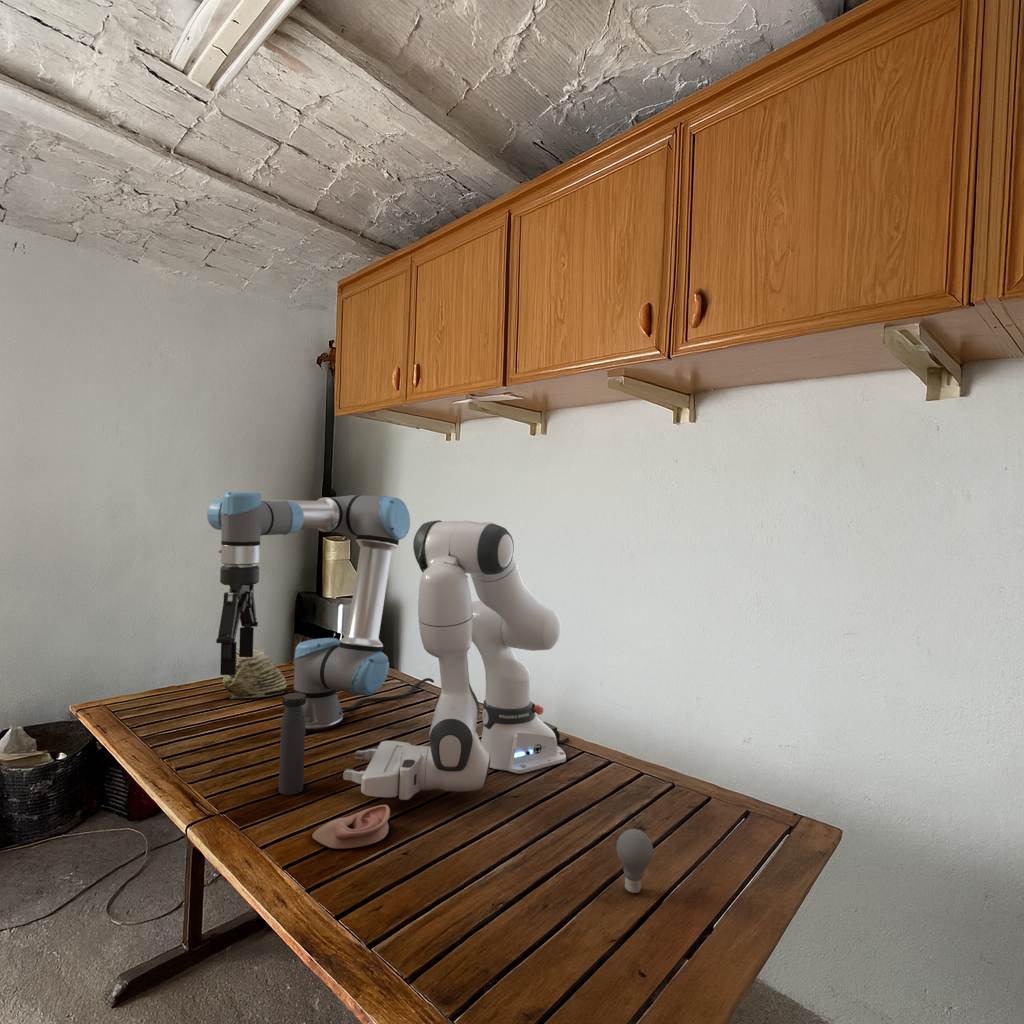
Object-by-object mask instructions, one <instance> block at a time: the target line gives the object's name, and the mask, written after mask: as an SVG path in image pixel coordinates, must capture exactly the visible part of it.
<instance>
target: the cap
mask: <svg viewBox="0 0 1024 1024" xmlns="http://www.w3.org/2000/svg"><path fill="white" fill-rule="evenodd" d="M305 696H306V695H305V694H302V693H294V692H291V693H286V694H284V695H283V696H282V706H283V707H286V706H287V707H298V706H302V705H304V704H305V703H306V697H305Z"/></svg>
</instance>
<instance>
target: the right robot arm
mask: <svg viewBox="0 0 1024 1024" xmlns="http://www.w3.org/2000/svg"><path fill="white" fill-rule="evenodd" d="M514 544H515V543H514V539H513V536H512V535H511V533H510V532H509V531H508V530H507V528H505V527H503V526H501V525H499V524H497V523H494V522H491V521H483V522H479V521H472V520H445V521H443V520H432V521H427V522H424V523H422V524H421V525H420V526H419V528H418V530H417V531H416V533H415V535H414V537H413V543H412V547H413V548H412V549H413V554H414V557H415V560H416V563H417V564H418V566H419V569H420V571H421V572H422V573H421V576H420V580H419V585H418V599H417V600H418V601H417V602H418V603H417V613H418V614H417V615H418V617H417V618H418V627H419V628H418V629H419V635H420V638H421V642H422V646H423V649H424V651H426V653H427V654H429V655H431V656H432V657H433V658H434V657H435V658H437V659H438V663H439V676H440V686H441V687H440V691H439V693H438V696H437V699H436V701H435V704H434V705H435V706H434V712H433V717H432V720H431V724H430V728H429V733H428V740H429V745H412V744H411V743H409V742H405V741H397V740H383V741H380V743H379V745H378V747H377V748H370V749H365V750H356V752H355V753H354V761H355V762H363V761H366V760H367V761H368V760H370V761H369V763H368V765H367V767H366V769H365V770H360V771H357V770H355V769H354V768H345V769H344V771H343V773H342V779H343V780H344V781H351V782H354V783H356V784H358V785H360V792H361V794H363V795H364V796H367V797H374V798H388V799H389V798H396V797H398V800H400V801H409V800H410V799H411V798H412V797H414V795H415V794H417V793H418V792H420V791H431V790H441V791H444V792H453V793H454V792H455V793H459V792H464V793H465V792H474V791H478V790H480V789H483V788H484V786H485V785H486V784H487V780H488V778H489V773H490V769H494V770H499V771H507V772H510V773H514V774H518V775H519V774H520V775H521V774H522V775H523V774H526V773H529V772H532V771H537V770H541V769H544V768H548V767H551V766H555V765H559V764H563V763H566V761H567V755H566V752H565V751H564V750H563V748H561V747H560V746H558V744H559V745H564V744H565V743H566V742H569V741H570V737H565V738H563V739H560V738H561V736H560V735H561V734H560V732H559V731H558V726H555V725H553V724H551V723H550V722H549V723H548V722H546V721H542V720H541V719H540V718H538V716H541V715H542V714H543V713H544V711H545V709H544V707H543V706H541V705H540V704H536V703H535V702H532V701H531V698H530V697H531V678H532V677H531V672H530V670H529V668H528V667H527V665H526V664H524V663H523V662H522V661H521V660H519V659H518V657H517V656H516V655H515V653H514V651H513V649H517V650H525V651H535V652H536V651H549V650H552V649H553V648H554V647H555V646H556V645H557V643H558V642H559V640H560V638H561V634H562V624H561V619H560V617H559V615H558V613H557V612H556V611H555V610H553V609H551V608H549V607H547V606H546V605H545V604H543V603H542V602H541V601H540V600H539V599H537V597H536V596H534V594H533V593H532V592H531V591H530V590H529V588H527V586H526V584H525V583H524V581H523V579H522V576H521V573H520V569H519V567H518V563H517V560H516V557H515V553H514V551H515V546H514ZM468 574H469V575H470V578H471V580H472V581H471V582H472V584H473V587H474V590H475V593H476V596H477V598H478V599H479V600H476V601H475V600H474V601H472V594H471V590H470V589H471V588H470V585H469V580H468V578H469V575H468ZM472 643H473V644H474V646H475V647H476V649H477V651H478V653H479V655H480V657H481V660H482V663H483V666H484V670H485V671H484V673H485V699H484V700H483V703H482V705H483V706H482V732H481V738H480V737H479V734H478V733H477V723H478V719H479V714H480V703H479V700H478V698H477V695H476V694H475V692H474V691H473V688H472V686H471V683H470V673H469V659H468V652H469V650H470V648H471V646H472ZM537 715H538V716H537Z"/></svg>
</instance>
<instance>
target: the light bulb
mask: <svg viewBox="0 0 1024 1024" xmlns="http://www.w3.org/2000/svg"><path fill="white" fill-rule="evenodd" d="M615 849H616V854H617V857H618V859H619V861H620V863H621V865H622V867H623V873H624V874H623V875H624V876H625V878H624V888H625V890H627V891H628V892H630V893H634V894H635V893H639V892H640V891H641V889H642V887H641V886H642V879H643V877H644V875H645V871H646V868H647V867H648V866H649V864H650V863H651V861H652V859H653V855H654V847H653V843H652V841H651V838H649V836H648V835H647V834H646V833H645V832H643V831H642V830H641V829H636V828H629V829H627V830H625V831H623V832H622V833H621V834H620V835H619V837H618V839H617V841H616V847H615Z"/></svg>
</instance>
